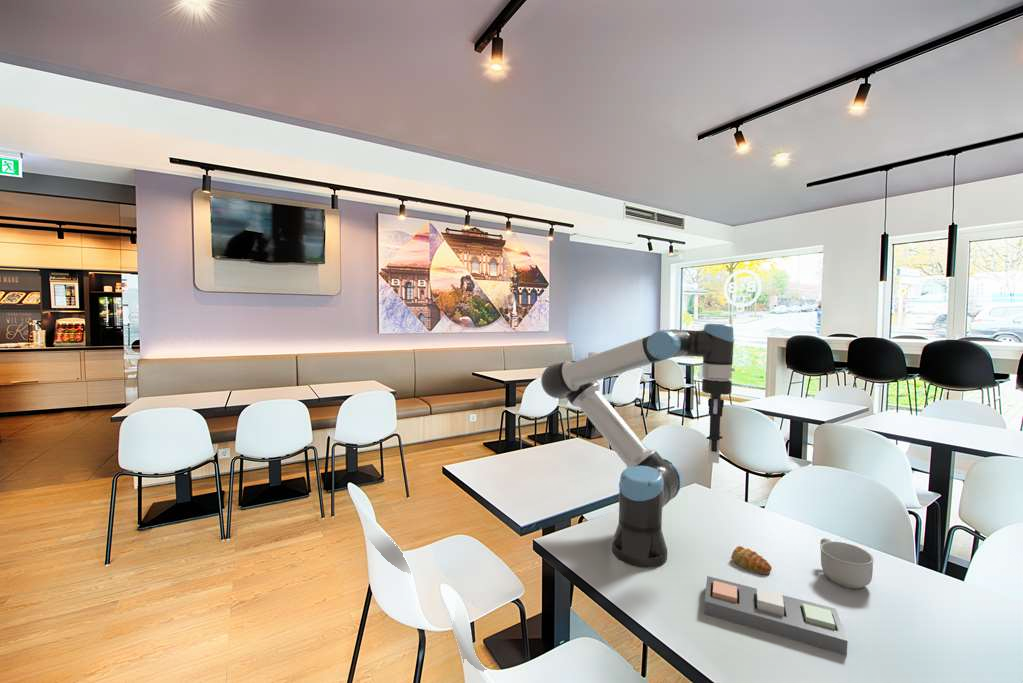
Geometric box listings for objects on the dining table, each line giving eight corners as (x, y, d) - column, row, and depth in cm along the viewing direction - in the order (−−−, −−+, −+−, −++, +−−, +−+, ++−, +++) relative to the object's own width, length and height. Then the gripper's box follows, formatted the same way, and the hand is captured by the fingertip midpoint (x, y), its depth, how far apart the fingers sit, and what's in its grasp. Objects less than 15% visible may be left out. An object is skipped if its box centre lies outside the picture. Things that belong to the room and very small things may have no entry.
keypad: (704, 613, 99) (704, 601, 98) (706, 587, 108) (707, 575, 108) (846, 655, 87) (847, 640, 87) (835, 621, 97) (835, 608, 97)
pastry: (776, 571, 117) (777, 557, 116) (763, 579, 113) (763, 565, 113) (741, 555, 124) (742, 542, 124) (728, 562, 121) (728, 548, 120)
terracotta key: (712, 602, 101) (712, 591, 100) (713, 590, 105) (713, 580, 105) (736, 609, 98) (737, 598, 98) (736, 596, 103) (736, 586, 103)
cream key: (757, 610, 96) (757, 599, 96) (756, 598, 101) (756, 587, 101) (783, 618, 94) (784, 606, 94) (781, 604, 99) (782, 594, 99)
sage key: (805, 628, 92) (806, 616, 92) (802, 614, 97) (802, 603, 97) (834, 636, 90) (835, 624, 90) (829, 621, 95) (830, 610, 95)
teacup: (881, 597, 106) (883, 565, 105) (831, 591, 108) (833, 559, 108) (849, 565, 119) (851, 537, 119) (805, 560, 122) (807, 532, 121)
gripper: (731, 382, 115) (728, 471, 116) (731, 377, 127) (728, 457, 128) (700, 380, 118) (697, 466, 119) (703, 375, 130) (700, 453, 131)
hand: (713, 461), depth 124 cm, fingers closed
